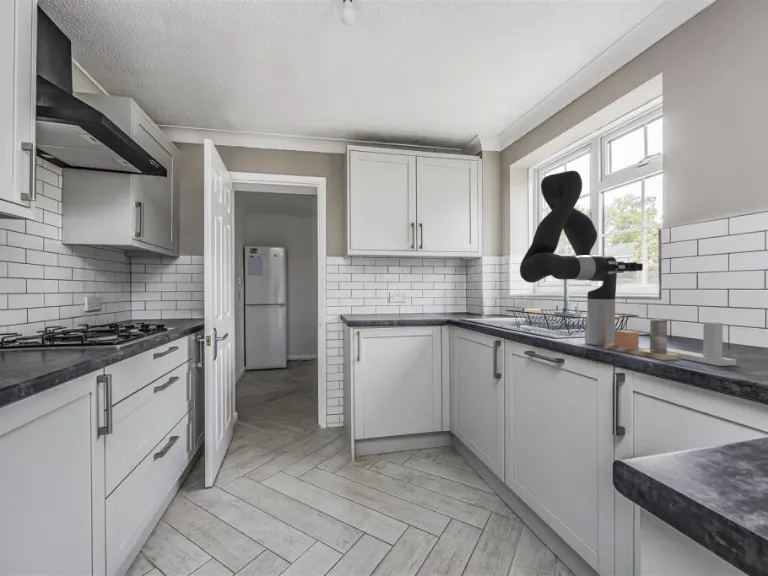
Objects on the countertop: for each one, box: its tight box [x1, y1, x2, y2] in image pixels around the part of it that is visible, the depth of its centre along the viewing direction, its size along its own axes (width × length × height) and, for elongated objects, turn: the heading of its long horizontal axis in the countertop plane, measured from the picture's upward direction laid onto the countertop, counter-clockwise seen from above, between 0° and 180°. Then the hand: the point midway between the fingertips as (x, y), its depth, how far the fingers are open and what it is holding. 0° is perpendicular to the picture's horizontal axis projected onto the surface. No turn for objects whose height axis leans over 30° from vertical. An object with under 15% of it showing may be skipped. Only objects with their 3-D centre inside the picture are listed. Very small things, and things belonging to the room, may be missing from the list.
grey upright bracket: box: [648, 321, 737, 367], centre depth 118 cm, size 22×6×12 cm, turn 13°
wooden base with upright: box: [604, 318, 680, 361], centre depth 126 cm, size 22×6×12 cm, turn 13°
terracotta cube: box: [614, 330, 640, 348], centre depth 131 cm, size 5×5×5 cm
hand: (629, 267), depth 120 cm, fingers open, 8 cm apart
